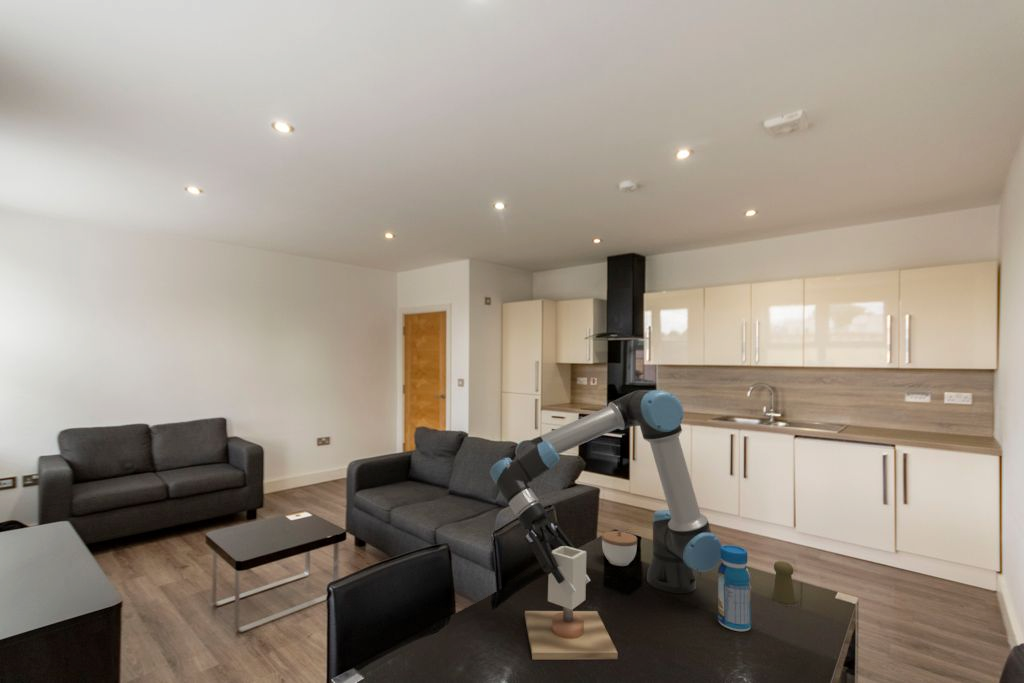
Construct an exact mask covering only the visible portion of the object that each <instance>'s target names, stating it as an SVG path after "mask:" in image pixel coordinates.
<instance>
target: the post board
mask: <svg viewBox="0 0 1024 683" xmlns="http://www.w3.org/2000/svg"><path fill="white" fill-rule="evenodd" d="M562 607H563V606H562ZM562 609H563V610H525V611H524V620H525V624H526V631H527V636H528V642H529V647H530V651H531V652H530V653H531V658H532V660H538V661H539V660H540V661H541V660H545V661H546V660H552V661H553V660H557V661H558V660H559V661H560V660H618V659H619V658H618V656H619V655H618V653H619V652H618V651H617V648H616V646H615V645H614V643H613V642H614V641H612V639H611V637H610V634H609V633H608V631H607V629H606V627H605V624H604V623H603V622H604V621H603V620H602V619H601V618H602V617H601V616H600V614H599V613H598V611H597V610H590V611H589V610H587V611H586V610H574V609H572V610H571V609H568V608H566V607H563V608H562Z"/></svg>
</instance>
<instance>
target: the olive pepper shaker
mask: <svg viewBox="0 0 1024 683" xmlns="http://www.w3.org/2000/svg"><path fill="white" fill-rule="evenodd" d="M773 570H774V572H775V578H774V584H773V593H772V599H773V598H774V599H775V600H774V601H776V602H778V601H779V602H778V603H780V602H782V603H781V604H784V603H787V604H786V605H794V603H795V604H796V596H795V591H794V590H795V589H794V585H793V579H792V578H793V577H792V575H793V574H794V567H793V565H792V564H791V563H789V562H788V561H787V562H786V561H783V560H782V561H781V560H779V561H775V562H774V564H773Z"/></svg>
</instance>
